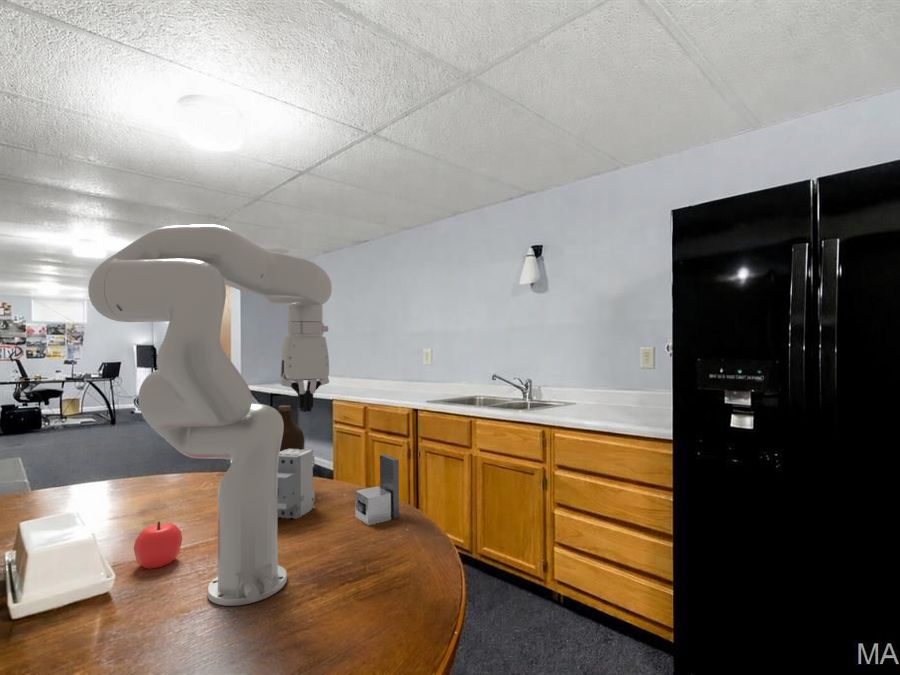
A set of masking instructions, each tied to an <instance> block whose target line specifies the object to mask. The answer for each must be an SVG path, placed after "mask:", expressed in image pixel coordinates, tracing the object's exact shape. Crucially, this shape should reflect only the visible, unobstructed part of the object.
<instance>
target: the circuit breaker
mask: <svg viewBox="0 0 900 675" xmlns="http://www.w3.org/2000/svg"><path fill="white" fill-rule="evenodd" d="M314 452H315V450H314V449H305V448H304V449H302V450H300V449H288V450H283V451H281V452H280V453H279V461H278V518H279V517H281V518H280V519H290V518H293V520H298V519H300V518H301V517H303V516H304V515H306V514H307V513H309V512H311V511H312V509H315V506H314V503H315V501H316V499H315V495H316V494H315V489H314V487H313V486H314V484H313V482H314V481H313V480H314V479H313V478H314V477H313V476H314V475H313V473H314V472H313V471H314V470H313V468H314V467H315V455H314ZM302 515H303V516H302ZM299 517H300V518H299ZM297 518H298V519H297Z"/></svg>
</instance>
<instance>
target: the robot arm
mask: <svg viewBox="0 0 900 675" xmlns="http://www.w3.org/2000/svg"><path fill="white" fill-rule="evenodd" d="M226 286H228V287H230V288H234V289H236V290H239V291H241V292H243V293H247V294H251V295H256V296H257V295H258V296H259V295H260V296H261V297H262V298H263V299H264V300H265V301H266V302H267V303H269V305H273V306H277V307H286V306H287V336H283V340H282V347H281V354H280V365H279V366H280V367H279V370H280V371H279V372H280V378H281V382H280V386H283V387H287V388H291V389H293V390H294V392H296V394H297V409H299V411H300V412H302V413H307V412H312V408H313V407H314V394H315V392H316V391H317V390H318V389H319V388H320V387H321V386H325V385H328V384H329V383H330V379H329V375H330V359H329V358H330V357H329V351H328V343H327V339H326V337H325V336H323V335H324V333H326V332H329V326H328V325H324V322H323V305H324V304H326V303H327V302H328V300H329V299H330V297H331V295H332V291H333V288H332V282H331V279H330V276H329V275H328V273H327V272H326V271H325V270H324V269H323V267H321V266H319V265H318V264H316V263H314V262H312V261H310V260H307V259H305V258H300V257H296V256H292V255H288V254H284V253H282V252H276V251H272V250H267V249H265V248H264V247H261V246H260V245H258V244H256V243H254V242H252V241H251V240H250V239H248V238H245V237H244V236H243V235H241V234H239V233H237V231H234V230H232V229H230V228H228V227H225V226H223V225H222V226H221V225H218V224H189V225H187V224H186V225H171V226H170V225H169V226H168V225H166V226H163V227H158V228H156V229H154V230H152V231H149V232H147V233H146V234H144V235H142V236H141V237H139V238H137V239H136V240H135V241H133V242H131V243H130V244H128V245H126V246H125V247H123V249H121V250H119V251H118V252H115V253H114V254H113V255H111V256H110V257H108V258H107V259H105V260H104V261H103V262H102V263H100V264H99V265H98V266H97V267H96V268H95V270H94V271H93V272H92V274H91V276H90V279H89V282H88V292H87V293H88V297H89V301H90V304H91V305H92V306H93V308H94V309H95V310H96V312H98V313H99V314H101V316H103V317H105V318H107V319H109V320H113V321H115V322H121V323H122V322H123V323H150V322H151V323H152V322H153V323H155V322H158V323H160V322H161V323H166V322H168V325H167V328H166V332H165V335H164V338H163V341H162V342H161V344H160V346H159V349H158V352H157V355H156V368H157V369H156V370H153V371H152V372H150V373H149V374H148V375H146V377H145V378H144V380H143V381H142V382H141V385H140V387H139V391H138V406H139V410H140V412H141V413H140V414H141V416H142V417H143V419H144V421H146V423H147V424H148V425H149V426H150V427H151V428H152V429H153V430H154V431H155V432H156V433H157V434H158V435H159V436H161V437H162V438H163V439H165V441H166V442H167V443H168V444H170V445H171V446H172V447H173V448H174V449H175V450H177V451H178V452H179V453H180V454H182V455H183V456H185V457H188V458H192V459H202V460H203V459H205V460H206V459H209V460H210V459H212V460H213V459H219V460H229V461H231V464H230V466H229V468H227V470H226V472H225V473H224V475H223V476H222V478H221V479H220V482H219V484H218V488H217V576H216V577H214V578H213V579H212V580H211V581H210V582H209V584H208V586H207V590H206V592H207V598H208V599H209V601H210V602H212V603H214V604H217V605H218V606H225V607H226V606H227V607H229V606H230V607H232V606H234V607H235V606H244V605H249V604H252V603H253V604H254V603H257V602H260V601H263V600H265V599H267V598H269V597H271V596H273V595H274V594H277V593H278V592H280V590H281V589H282V588H284V586H285V584H286V583H287V579H288V572H287V570H286V569H285V568H284V567H283V566H281V565H279V564H278V563H279V561H278V554H279V553H278V547H279V546H278V543H279V542H278V532H279V531H278V521H279V520H278V518H279V517H278V461H279V453H280V447H281V442H282V437H283V428H284V424H283V419H282V416H281V414H280V413H279V412H278V411H279V410H277V409H276V408H274V407H272V406H270V405H267V404H264V403H253V395H252V392H251V389H250V387H249V385H248V383H247V382H246V380H245V379H244V377H243V376H242V375H241V373H240V371H239V370H238V369H237V368H236V366H235V365H234V362H232V361H231V359H230V358H229V355H227V353H226V352H225V350H224V348H223V346H222V343H221V331H222V323H223V316H224V311H225V305H226V297H227V291H226V290H227V289H226ZM304 381H306V383H307V384H306V389H305V383H304Z"/></svg>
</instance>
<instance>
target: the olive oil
mask: <svg viewBox="0 0 900 675" xmlns="http://www.w3.org/2000/svg"><path fill="white" fill-rule="evenodd" d="M277 411H278V412H279V413H280V414H281V416H282V419H283V424H284V428H283V437H282V442H281V447H280V452H281V451H283V450H288V449H300V450H302V449H305V448H304V447H305V436H304V432H303V429H301V428H300V426H299V425H297V424H296V423H295V421H293V420H292V410H291V405H286V404H283V405H279V406H278V410H277Z"/></svg>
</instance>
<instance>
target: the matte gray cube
mask: <svg viewBox="0 0 900 675" xmlns="http://www.w3.org/2000/svg"><path fill="white" fill-rule="evenodd" d="M354 495H355V500H354V501H355V512H354V513H355V518H356V517H357V518H356V519H358V520H360V521H361V522H362V521H363V524H365V525H366V524H367V525H366V526H371V525H372V524H373V525H376V523H377V524H380V522H381V523H384V522H387V521H391V520H392V517H391V493H389V492H387V491H385V490H384V489H382V488H380V486H377V485H376V486H372V487H367V488H363V489H357V490H355V494H354ZM360 502H362V503H364V504H365V505H366V511H363V512H361V511H359V510H358V509H356V503H360Z"/></svg>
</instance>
